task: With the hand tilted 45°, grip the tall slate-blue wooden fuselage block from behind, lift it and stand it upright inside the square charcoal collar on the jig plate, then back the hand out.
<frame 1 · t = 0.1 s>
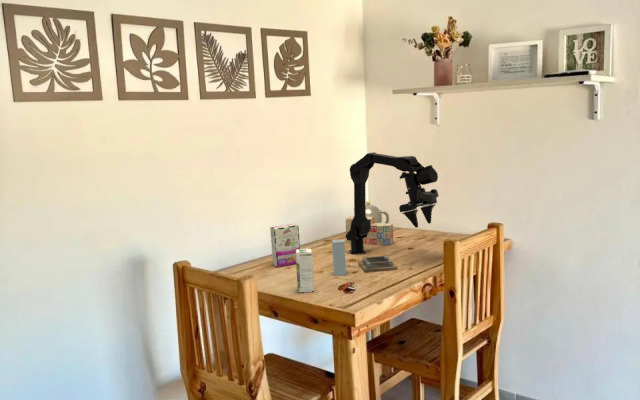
hand: (423, 225, 232), 15 cm above the table, tool pointing down, fingers open, 9 cm apart
fuselage block: (339, 273, 226), on the table
jig: (377, 266, 233), on the table
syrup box: (305, 290, 208), on the table
stack of blocks: (370, 243, 275), on the table
teapot: (372, 233, 297), on the table
candy bar box: (286, 264, 244), on the table
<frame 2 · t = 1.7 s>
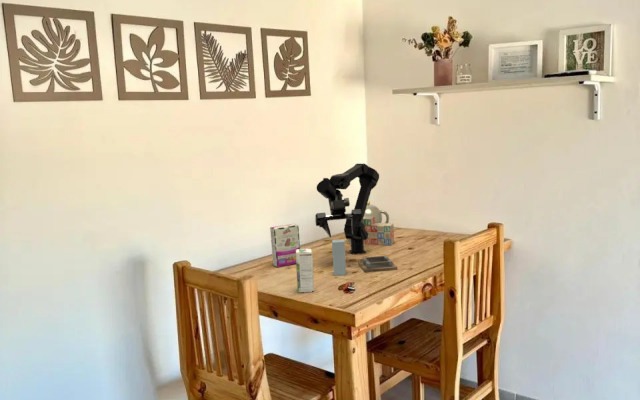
hand: (341, 235, 231), 14 cm above the table, tool tilted 40°, fingers open, 9 cm apart
nothing on the table moved.
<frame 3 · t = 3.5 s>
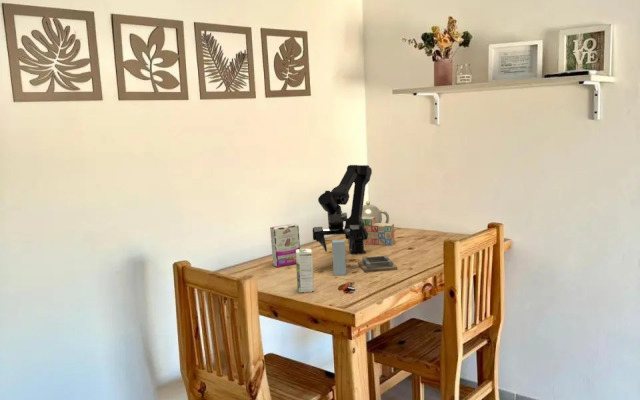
hand: (338, 250, 226), 9 cm above the table, tool tilted 45°, fingers open, 9 cm apart
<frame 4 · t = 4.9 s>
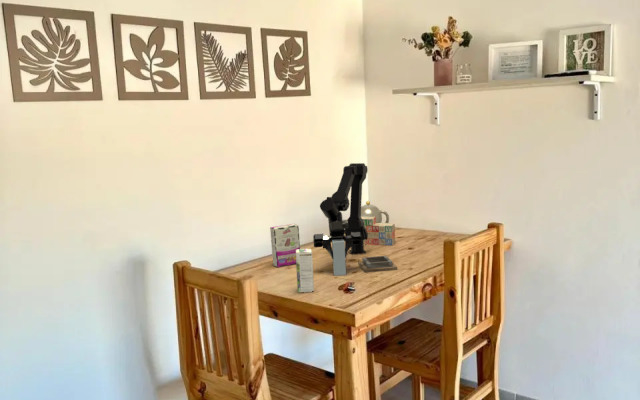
hand: (339, 258, 224), 7 cm above the table, tool tilted 45°, fingers closed on fuselage block, 4 cm apart
fuselage block: (339, 273, 226), on the table, touching gripper
everything else where it was.
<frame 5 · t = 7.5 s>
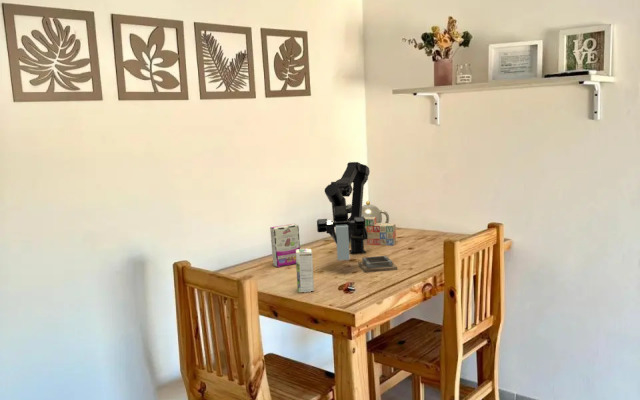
hand: (342, 242, 224), 12 cm above the table, tool tilted 45°, fingers closed on fuselage block, 4 cm apart
fuselage block: (343, 258, 226), point 6 cm above the table, touching gripper
when the fingers open (9 cm above the table, at t = 10.3 s): fuselage block drops 1 cm, resting on jig.
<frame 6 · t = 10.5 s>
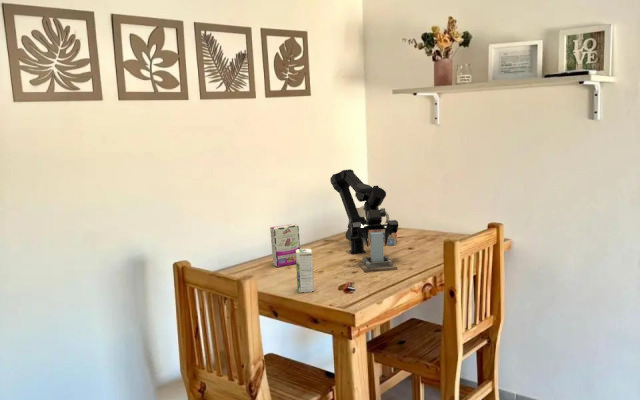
hand: (376, 245, 230), 9 cm above the table, tool tilted 45°, fingers open, 7 cm apart
fuselage block: (377, 264, 233), point 1 cm above the table, touching jig
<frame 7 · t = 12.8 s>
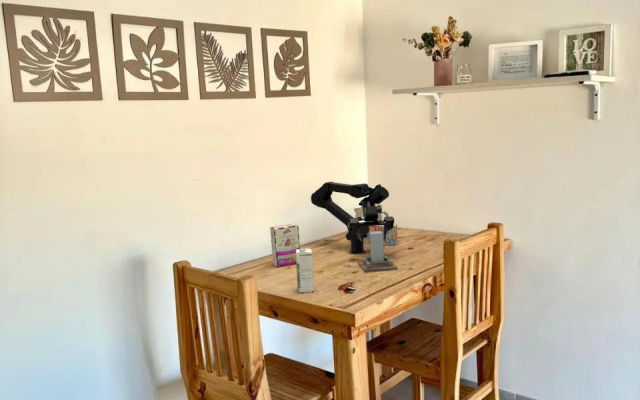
hand: (373, 240, 239), 9 cm above the table, tool tilted 45°, fingers open, 9 cm apart
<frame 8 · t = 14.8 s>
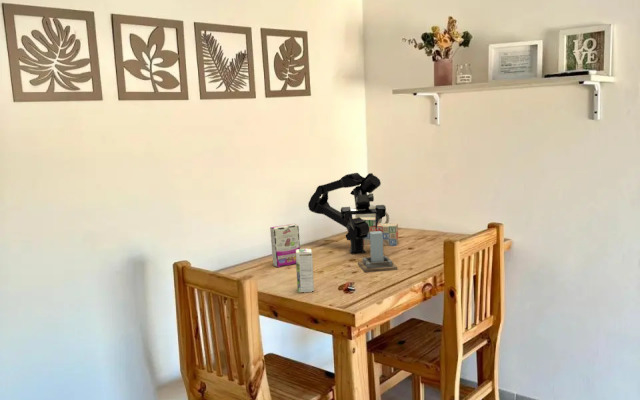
hand: (365, 228, 241), 14 cm above the table, tool tilted 45°, fingers open, 9 cm apart
at the end: fuselage block 0.0 cm off-centre on the jig, point 1.0 cm above the jig's base; fuselage block tilted 0°; the gripper is holding nothing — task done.
